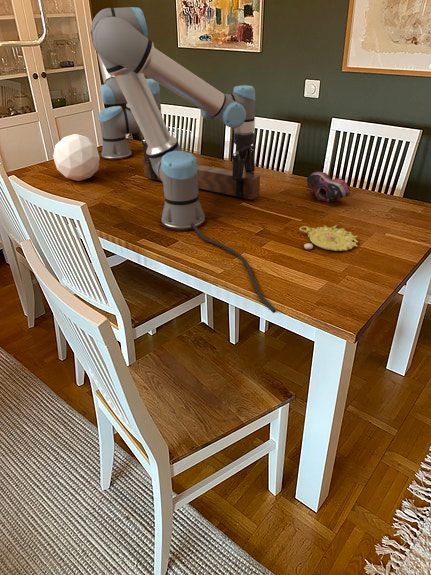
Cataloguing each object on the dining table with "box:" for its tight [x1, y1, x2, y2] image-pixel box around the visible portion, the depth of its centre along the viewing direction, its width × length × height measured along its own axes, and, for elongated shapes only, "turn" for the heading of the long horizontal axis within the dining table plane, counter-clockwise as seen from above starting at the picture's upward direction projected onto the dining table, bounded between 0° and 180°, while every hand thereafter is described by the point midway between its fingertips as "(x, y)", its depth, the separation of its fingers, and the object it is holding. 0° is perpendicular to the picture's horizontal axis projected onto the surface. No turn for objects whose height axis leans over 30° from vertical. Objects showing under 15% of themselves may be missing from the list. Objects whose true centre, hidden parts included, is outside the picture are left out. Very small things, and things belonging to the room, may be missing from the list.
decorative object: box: [299, 224, 359, 252], centre depth 141 cm, size 21×2×20 cm
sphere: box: [52, 133, 101, 182], centre depth 194 cm, size 19×20×20 cm
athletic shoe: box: [304, 171, 351, 203], centre depth 169 cm, size 11×22×12 cm
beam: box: [142, 158, 261, 200], centre depth 181 cm, size 54×5×8 cm, turn 57°
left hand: (158, 176), depth 193 cm, fingers closed on beam, 5 cm apart
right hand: (243, 193), depth 173 cm, fingers closed on beam, 5 cm apart
